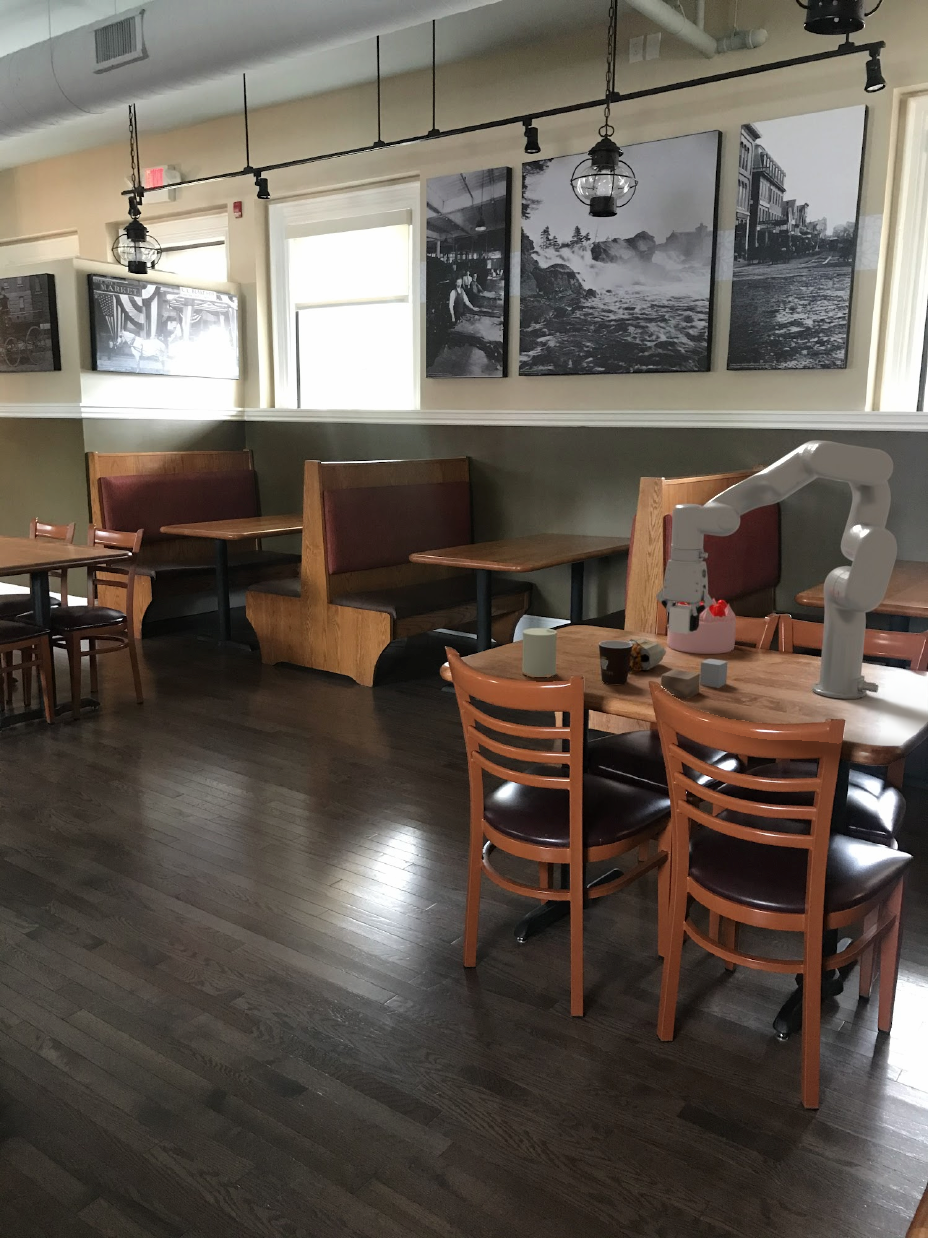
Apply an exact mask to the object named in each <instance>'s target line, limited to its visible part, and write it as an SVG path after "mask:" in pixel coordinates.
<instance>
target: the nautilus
mask: <svg viewBox="0 0 928 1238" xmlns="http://www.w3.org/2000/svg"><path fill="white" fill-rule="evenodd" d="M625 642H629V643H631V644H633V646H632V652H631V654H633V655H634V657H635V659H636V665H635V667H634V668H633V669H632V670H631V671H630V672H629V675H631V674H633V673H635V676H636V674H637V672H638V671H645V670H646V671H647V670H650V669H652V668H654V667H656V666H658V664H660V663H661V662H662V661H663V659H664V657H665V656H666V655H667V651H666V649H665V648H664V647H663V646H662V645H661V644H660V643H659V642H657V641H653V640H650V639H647V638H644V637H642V638H641V637H640V638H631V639H628V640H625ZM629 666H630V668H631V667H632V666H633V658H632V657H631V659H630V665H629Z"/></svg>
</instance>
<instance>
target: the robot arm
mask: <svg viewBox="0 0 928 1238" xmlns="http://www.w3.org/2000/svg"><path fill="white" fill-rule="evenodd" d="M893 473H894V462H893V458H891V456H890V455H889V454H888V453H887V452H886V451H884V450H882V449H878V448H871V447H865V446H858V445H851V444H846V443H842V442H841V443H840V442H835V441H830V440H818V439H817V440H809V441H807V442H805V443H803V444H801V445H799V446H798V447H797V448H795V449H793V450H792V451H790V452H789V453H787V454H786V455H784V456H783V457H782V458H779V459H778V460H776V461H775V462H773V463H772V464H770V465H769V466H767V467H766V468H764V469H763V470H761V471H759V472H757V473H755V474H753V475H751V476H749V477H748V478H745V479H744V480H742V481H740V482H738V483H737V484H734V485H732V486H730V487H729V488H727V489H726V490H724V491H722V492H720V493H719V494H718V495H716V496H715V497H713V498H712V499H710V500H709V501H707V502H706V503H705V504H704V505H701V504H696V503H680V504H676V505H675V506H674V507H673V509H672V520H671V521H672V524H671V525H672V526H671V527H672V528H671V545H670V559H668V561H667V564H666V567H665V571H664V579H663V585H662V588H661V589H660V590H659V592H657V594H656V596H655V598H656V600H657V601H659V603H660V604H661V605H662V606H663V608H664V609H665V612H666V613H667V619H666V623H667V629H668V628H669V612H670V607H672V606H675V605H677V602H685V603H687V604H690V605H691V609H692V615H691V616H690V631H691V632H693V631H696V630H697V628H698V627H699V615H700V614H701V613H702V612H703V611H704V610H705V609H706V608H708V607H709V606H711V605H712V604H713V598H711V596H710V594H709V584H708V583H709V580H708V569H707V568H708V567H707V563H706V561H703V560H704V559H707V558H708V555H709V553H708V552H705V551H704V538H705V537H704V535H708V536H709V535H711V536H717V537H727V536H729V535H730V536H731V535H732V534H734V533H735V532H736V531H737V530H738V529H739V527H740V525H741V516H742V515H744V514H746V513H749V511H752V510H754V509H758V508H761V507H765V506H770V505H774V504H776V503H779V502H781V501H783V500H785V499H787V498H788V497H789V496H791V495H792V494H793V493H795V492H797V491H798V490H800V489H802V488H803V487H804V486H806V485H808V484H809V483H811V482H813V481H814V480H815V479H818V478H822V479H827V480H832V481H838V482H844V483H848V485H849V487H850V490H851V494H852V500H851V506H850V511H849V514H848V519H847V521H846V524H845V528H844V530H843V531H844V532H843V534H842V538H841V542H840V550H841V553H842V555H843V556H844V557H845V558H847V559H848V560H850V561H852V563H851V566H849V565H845V566H838V567H836V568H833V570H831V571H830V572H829V573H828V574H827V576H826V578H825V580H824V584H823V600H824V604H823V605H824V620H823V634H822V643H821V644H822V647H821V658H820V660H821V661H820V670H819V681H818V682H815V683H814V684H813V685H812V689H811V690H812V691H813V693H816V694H817V695H820V696H824V697H828V698H835V699H845V700H853V699H854V700H856V699H861V698H860V697H862V698H865V697H866V696H867V692H871V693H878V691H879V684H876V682H870V681H866V680H865V675H862V670H863V669H862V668H863V661H864V660H863V658H864V647H865V637H866V636H865V635H866V624H867V622H866V621H867V619H866V618H867V617H866V613H870V612H871V611H874V610H875V609H876V608H877V607H879V606H880V604H881V603H882V601H883V600H884V597H885V595H886V593H887V589H888V585H889V583H890V580H891V576H892V573H893V570H894V566H895V563H896V559H897V555H898V543H897V540H896V539H897V538H896V537H895V536H894V534H893V533H892V532H891V531H890V530H888V529H887V528H886V526H887V521H888V516H889V513H890V509H891V508H890V507H891V502H892V501H891V500H892V499H891V497H892V495H891V489H890V488H891V487H890V485H889V481H888V480H889V479H890V478H891V476H892V475H893ZM700 601H704V604H702V605H701V606H700Z"/></svg>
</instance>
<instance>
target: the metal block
mask: <svg viewBox="0 0 928 1238" xmlns="http://www.w3.org/2000/svg"><path fill="white" fill-rule="evenodd" d="M660 677H661V678H660V680H661V681H660V686H661V685H662V686H663V688H665V689H667V691H669V692H670V693H671V694H674V695H675V696H674V697H676V696H677V697H676V698H682V699H689V698H691V697H693V696H694V695H697V694H699V693H700V672H698V673H697V672H692V671H688V670H687V671H686V670H680V669H675V668H674V669H671V670H670V671H667V672H665V673H663V674H661V676H660Z"/></svg>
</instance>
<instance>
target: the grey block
mask: <svg viewBox="0 0 928 1238" xmlns="http://www.w3.org/2000/svg"><path fill="white" fill-rule="evenodd" d="M728 663H729V662H728V661H727V660H721V659H714V658H707V659H705V660H703V661H701V662H700V672H699V674H700V681H699V686H704V687H705V686H706V687H709V688H717V689H719V688H722V687H723V686H725V685H727V676H728V674H727V673H728Z"/></svg>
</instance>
